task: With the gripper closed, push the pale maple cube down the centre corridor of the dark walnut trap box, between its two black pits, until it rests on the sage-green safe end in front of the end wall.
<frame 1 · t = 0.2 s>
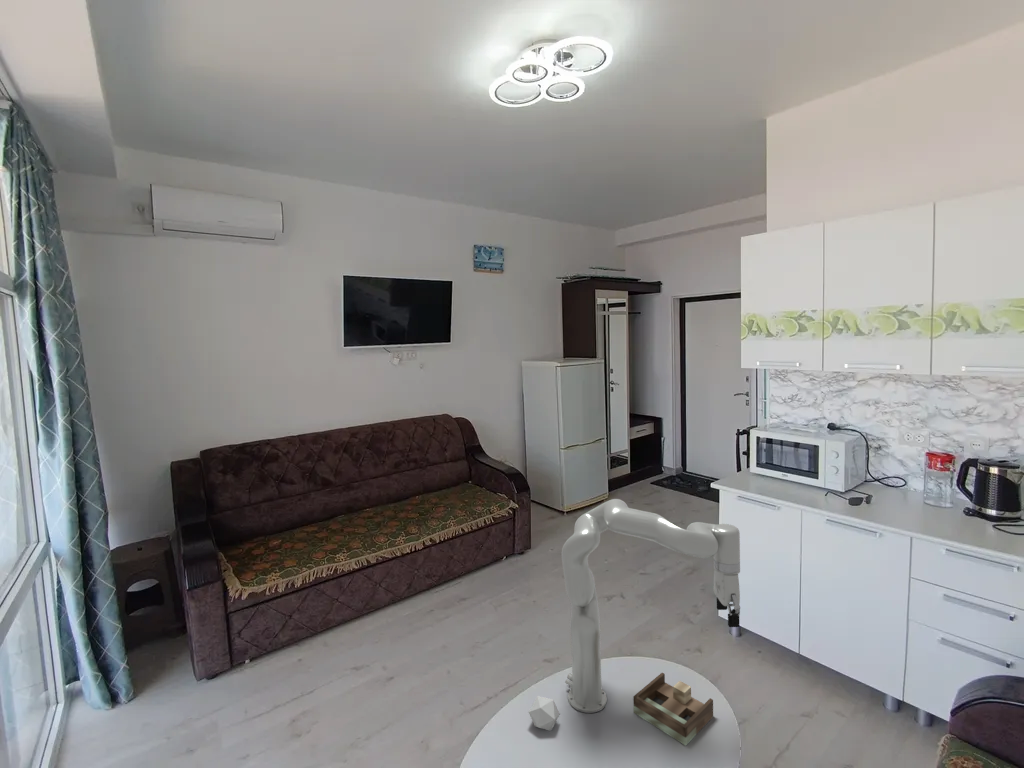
hand: (727, 617, 154), 30 cm above the table, tool pointing down, fingers open, 9 cm apart
maple block: (682, 698, 159), point 2 cm above the table, touching trap box
die: (544, 725, 153), on the table
trap box: (673, 714, 155), on the table
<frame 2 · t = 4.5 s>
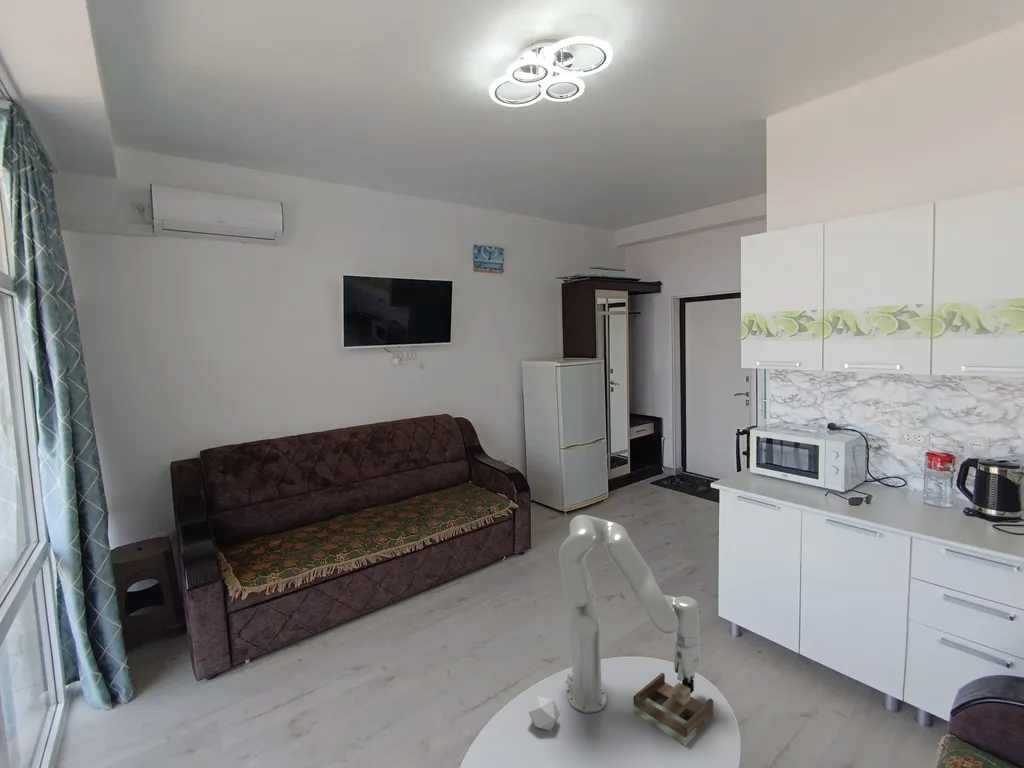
hand: (688, 690, 161), 4 cm above the table, tool pointing down, fingers closed
maple block: (681, 699, 158), point 3 cm above the table, touching gripper, trap box
everything else where it was.
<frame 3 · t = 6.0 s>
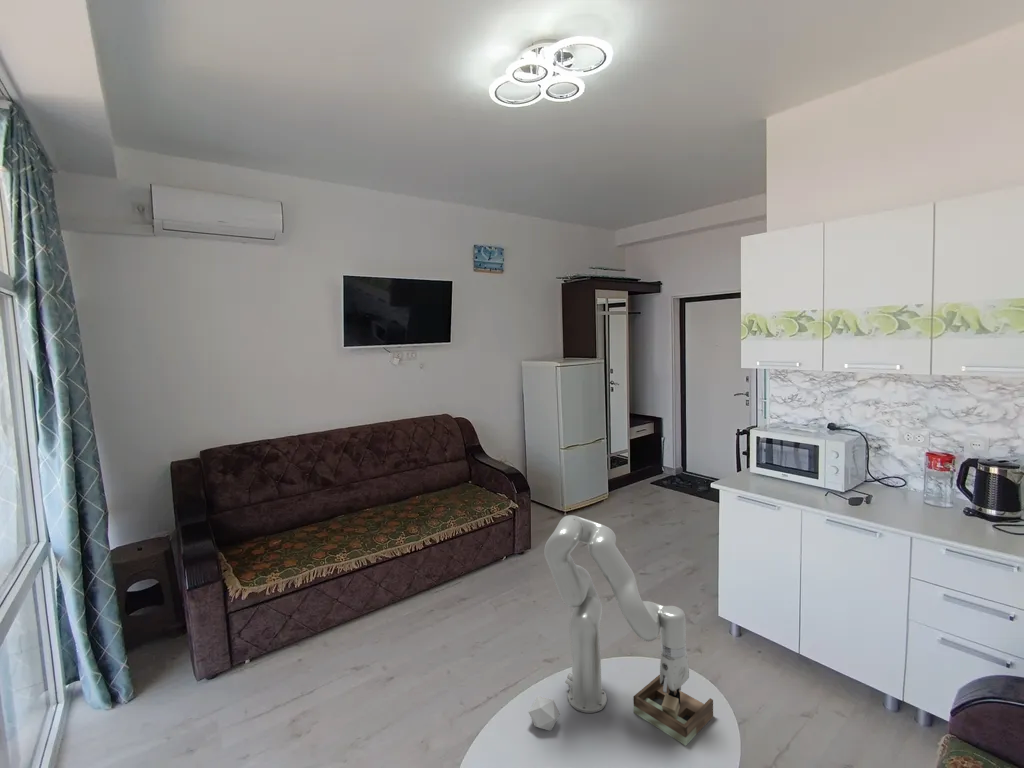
hand: (674, 703, 155), 4 cm above the table, tool pointing down, fingers closed
maple block: (671, 710, 153), point 3 cm above the table, tilted 20°, touching gripper
everything else where it was.
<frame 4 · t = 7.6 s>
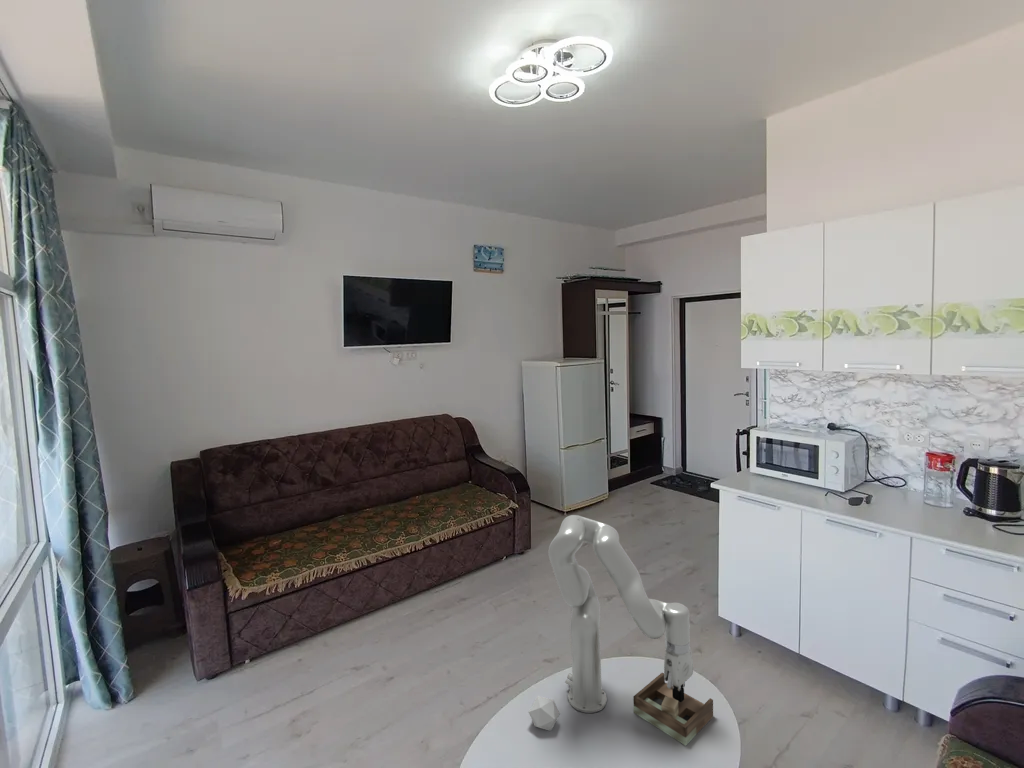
hand: (678, 698, 157), 4 cm above the table, tool pointing down, fingers closed
maple block: (670, 714, 152), point 2 cm above the table, touching trap box
everything else where it was.
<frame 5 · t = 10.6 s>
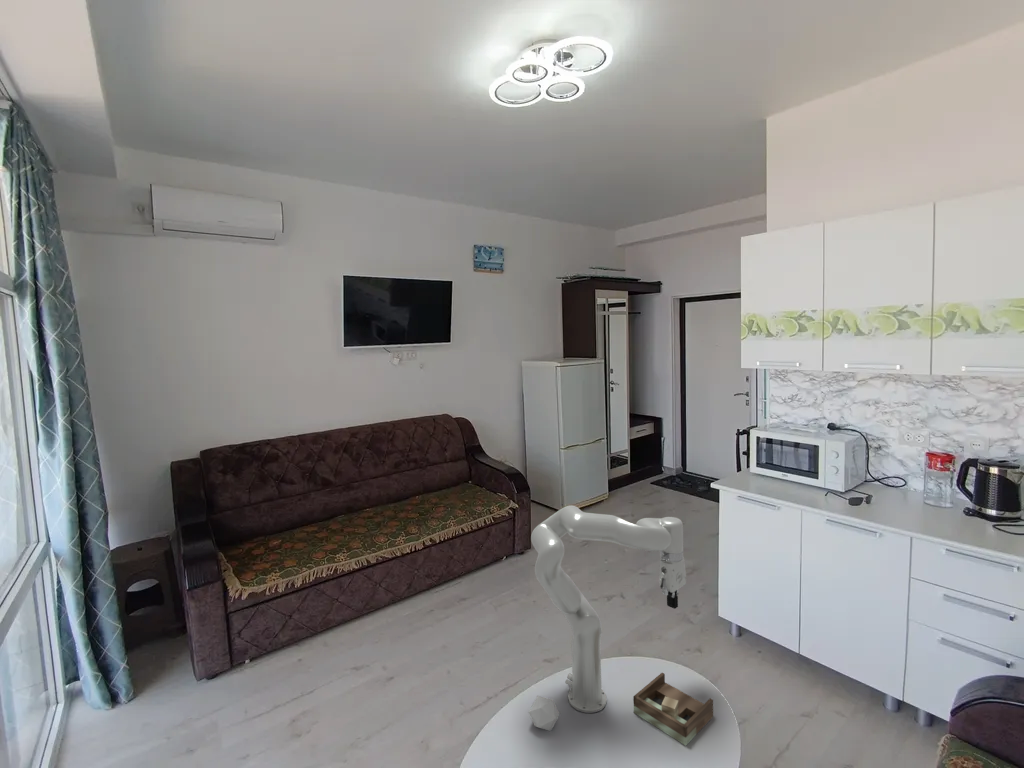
hand: (672, 606, 168), 27 cm above the table, tool pointing down, fingers closed
nothing on the table moved.
at the end: maple block 1.4 cm from the target spot on the trap box, point 2.5 cm above the trap box's base; maple block tilted 0° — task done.
